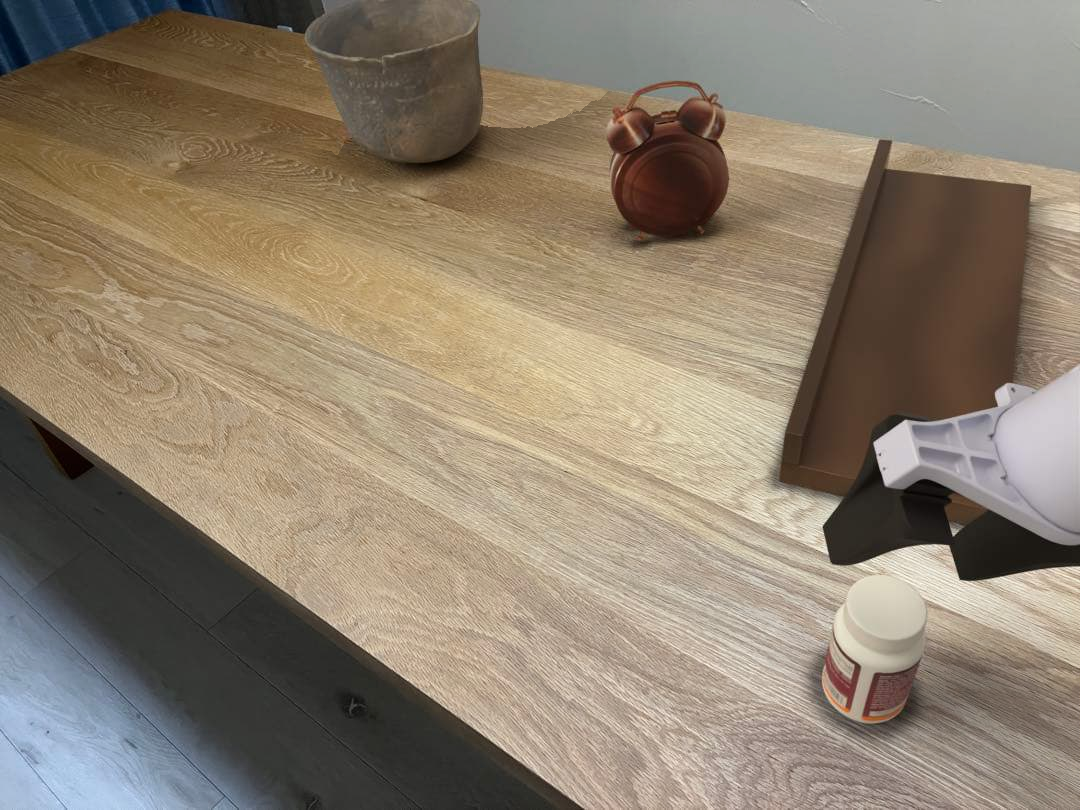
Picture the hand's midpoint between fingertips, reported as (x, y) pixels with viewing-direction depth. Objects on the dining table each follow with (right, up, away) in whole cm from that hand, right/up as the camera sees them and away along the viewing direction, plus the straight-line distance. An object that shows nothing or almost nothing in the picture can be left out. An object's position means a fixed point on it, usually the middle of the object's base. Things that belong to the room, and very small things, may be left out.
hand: (897, 553), depth 44 cm
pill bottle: (+2, -9, +9) cm, 13 cm away
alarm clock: (-5, +24, +45) cm, 51 cm away
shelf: (+14, +14, +31) cm, 37 cm away
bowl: (-31, +36, +61) cm, 77 cm away
